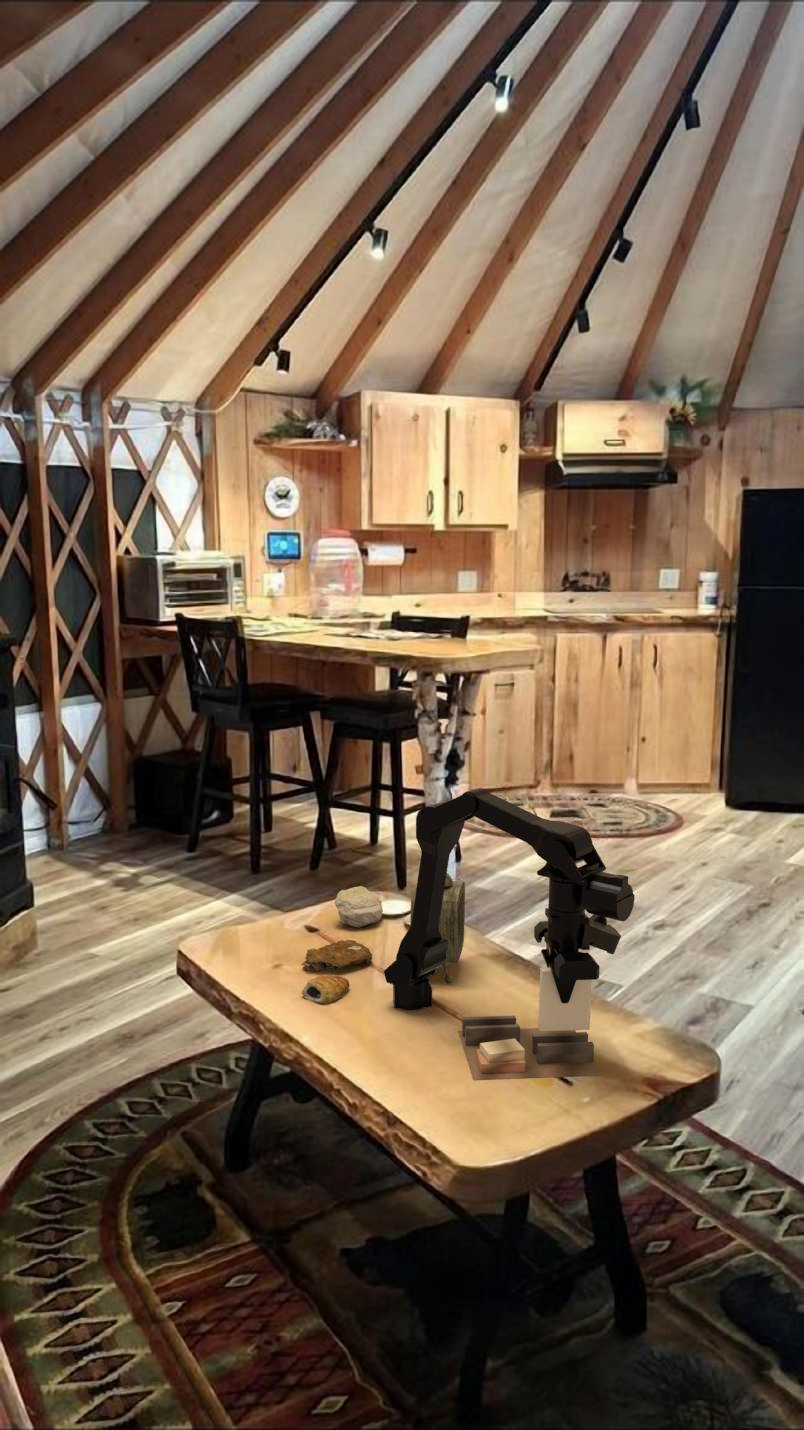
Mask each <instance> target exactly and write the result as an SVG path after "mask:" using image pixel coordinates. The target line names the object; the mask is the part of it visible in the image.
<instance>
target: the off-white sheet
mask: <svg viewBox="0 0 804 1430" xmlns="http://www.w3.org/2000/svg"><path fill="white" fill-rule="evenodd" d="M592 981H593V980H576V983H575V986H574V988H573V991H572V994H571V997H570V1000H569V1003H562V1002H561V1000H560V997H559V994H558V991H557V988H556V985H555V982H554V979H553V976H552V973H551V970H550V967H547V966H545V967H541V966H540V968H539V993H538V997H539V1000H538V1027H537V1028H539V1029H540V1031H564V1030H575V1031H587V1030H588V1031H590V1026H591V1025H590V1024H591V1007H592V1005H591V1004H592V1003H591V1001H592Z"/></svg>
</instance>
